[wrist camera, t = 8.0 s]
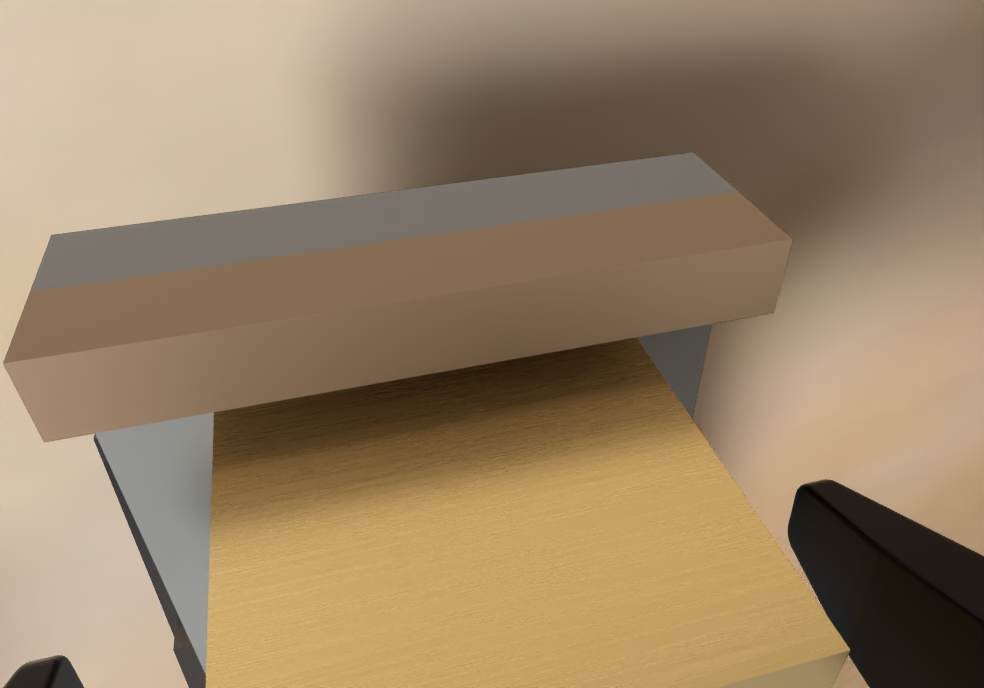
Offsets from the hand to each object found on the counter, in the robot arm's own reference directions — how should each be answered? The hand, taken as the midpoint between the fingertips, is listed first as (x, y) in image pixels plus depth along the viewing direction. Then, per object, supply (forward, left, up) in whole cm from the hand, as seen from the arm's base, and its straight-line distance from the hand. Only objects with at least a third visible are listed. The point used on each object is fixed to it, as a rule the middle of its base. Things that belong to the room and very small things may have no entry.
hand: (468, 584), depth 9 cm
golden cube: (0, 0, -2) cm, 2 cm away
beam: (-6, 0, -4) cm, 7 cm away
